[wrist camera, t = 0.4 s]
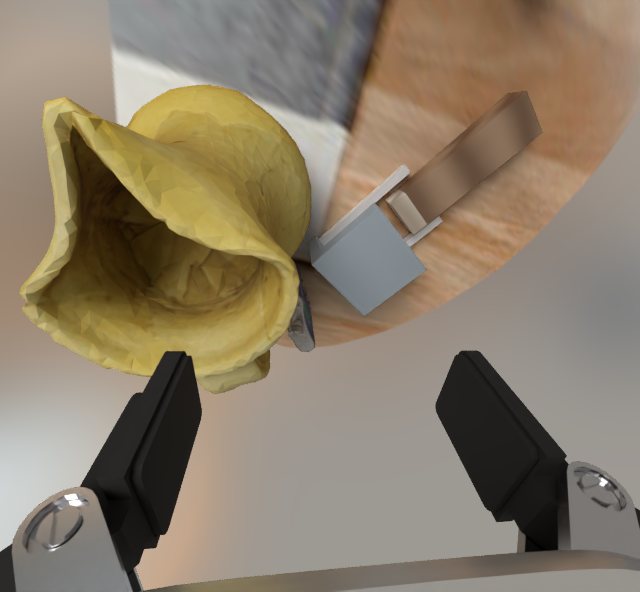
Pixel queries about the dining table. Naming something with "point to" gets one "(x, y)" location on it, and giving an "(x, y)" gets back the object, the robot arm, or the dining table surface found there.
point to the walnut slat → (466, 161)
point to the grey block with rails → (368, 251)
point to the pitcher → (172, 235)
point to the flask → (302, 321)
